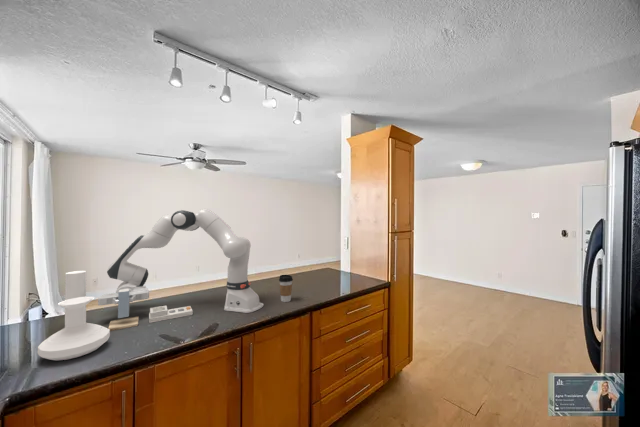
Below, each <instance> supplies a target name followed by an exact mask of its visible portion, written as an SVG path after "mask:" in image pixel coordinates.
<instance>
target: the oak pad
mask: <svg viewBox="0 0 640 427" xmlns="http://www.w3.org/2000/svg"><path fill="white" fill-rule="evenodd" d="M108 325H109V326H108V329H110V332H113V331H118V330H123V329H129V328H134V327H138V326H139V315H138V316H132V317H124V318H118V319H114V320H110V322H109V324H108Z"/></svg>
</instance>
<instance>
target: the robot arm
mask: <svg viewBox="0 0 640 427" xmlns="http://www.w3.org/2000/svg"><path fill="white" fill-rule="evenodd" d="M199 228H201V229H202V230H203V231H204V232H206V234H208V235H209V236H210V237H211V238H212V240H214V241H215V242H216V243H217V245H218V246H219V248H221V251H222V252H223V255H224V256H225V257H226V258H229V262H228V266H227V280H226V290H227V291H226V297H225V302H224V306H223V307H224V308H223V310H224V311H227V312H237V313H244V314H245V313H246V314H247V313H253V312H256V311H258V310H260V309H262V308H263V307H264V306H265V305H264V303H263V302H261V301H260V297H259V295H258V293H257V292H255V290H254V289H253V288H251V286H250V285H251V284H252V282H250V280H248V275H249V274H248V272H249V271H248V268H249V259H250V252H251V246H252V245H251V241H250V240H249V239H248V238H247V237H244V236H237V235H236V234H235V233H234V231H233V230H232V228H231V227H230V226H229V225H228V224H227V222H225V221H224V220H223V219H222V218H221V217H220V216H219V215H217V213H214V211H211V210H210V209H208V208H202V209H200V210H198V211H197V212H195V213H194V212H193V211H188V210H182V209H181V210H177V211H175V212H174V213H172V215H171V214H164V215H162V216H161V217H160V218H159V219H158V220H157V221H156V223H155V224H154V225H153V227H152V228H151V230H150V231H149V232H147V233H146V234H144V235H140V236H138V237H137V238H136V239H135V240H134V241H133V242H132V243H131V244H130V245H129V246H128V247H127V248H126V249H125V250H124V251H123V252H122V254H120V256H119V257H118V258H117V259H116V260H114V262H112V263H111V264H110V265H109V266H108V269H107V271H106V273H107V275H108V277H109V279H112V280H113V279H114V280H118V281H121V283H120V284H119V285H118V286H117V288H116V290H115V292H113V293H105V294H101V295H100V296H99V297H98V298H97V305H98V306H100V307H101V306H107V305H108V306H109V305H118V292H119V290H122V289H130V298H129V303H133V302H135V301H142V300H148V299H150V290H149V288H147V286H146V285H145V284H146V282H147V280H148V278H149V271H148V268H146V267H142V266H141V265H137V264H134V263H131V262H129V261H128V260H129V259H130V258H131V257H132V255H134V253H136V252H137V251H138V250H140V249H161V248H164V247H166V246H168V244H169V243H170V241H171V240H172V239H173V237H174V234H175V233H176V232H177V231H179V230H181V231H185V232H188V231H189V232H192V231H196V230H198V229H199Z"/></svg>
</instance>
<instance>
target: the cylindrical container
mask: <svg viewBox="0 0 640 427" xmlns="http://www.w3.org/2000/svg"><path fill="white" fill-rule="evenodd" d="M64 277H65V282H64V284H65V285H64V286H65V289H64V292H65V293H64V297H65V298H64V300H68V299H72V298H78V297H87V271H86V270H75V271H69V272H67V271H66V272H65V276H64ZM66 318H67V308H65V307H64V328H65V327H66Z"/></svg>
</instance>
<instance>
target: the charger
mask: <svg viewBox="0 0 640 427" xmlns="http://www.w3.org/2000/svg"><path fill="white" fill-rule="evenodd" d="M129 298H130V289H122V290H119V292H118V304H117V319H124V318H130V317H129V316H130V302H129Z"/></svg>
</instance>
